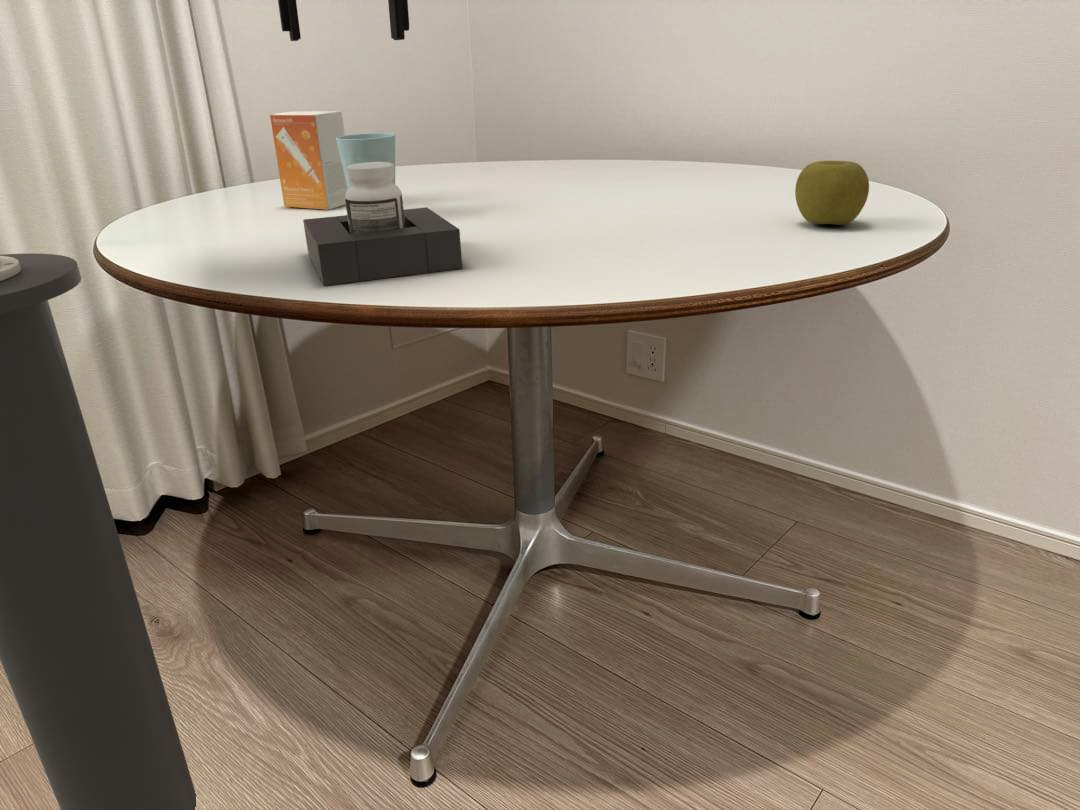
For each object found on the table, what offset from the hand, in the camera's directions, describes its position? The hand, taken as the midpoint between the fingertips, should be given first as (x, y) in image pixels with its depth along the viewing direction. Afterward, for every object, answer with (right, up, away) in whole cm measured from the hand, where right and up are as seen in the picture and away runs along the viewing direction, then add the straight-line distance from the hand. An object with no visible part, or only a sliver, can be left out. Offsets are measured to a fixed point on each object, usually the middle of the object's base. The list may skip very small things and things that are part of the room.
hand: (347, 40), depth 75 cm
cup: (-4, -9, +33) cm, 34 cm away
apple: (+52, -14, +18) cm, 57 cm away
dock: (+2, -20, +9) cm, 21 cm away
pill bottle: (+1, -20, +9) cm, 22 cm away
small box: (-15, -5, +42) cm, 45 cm away
